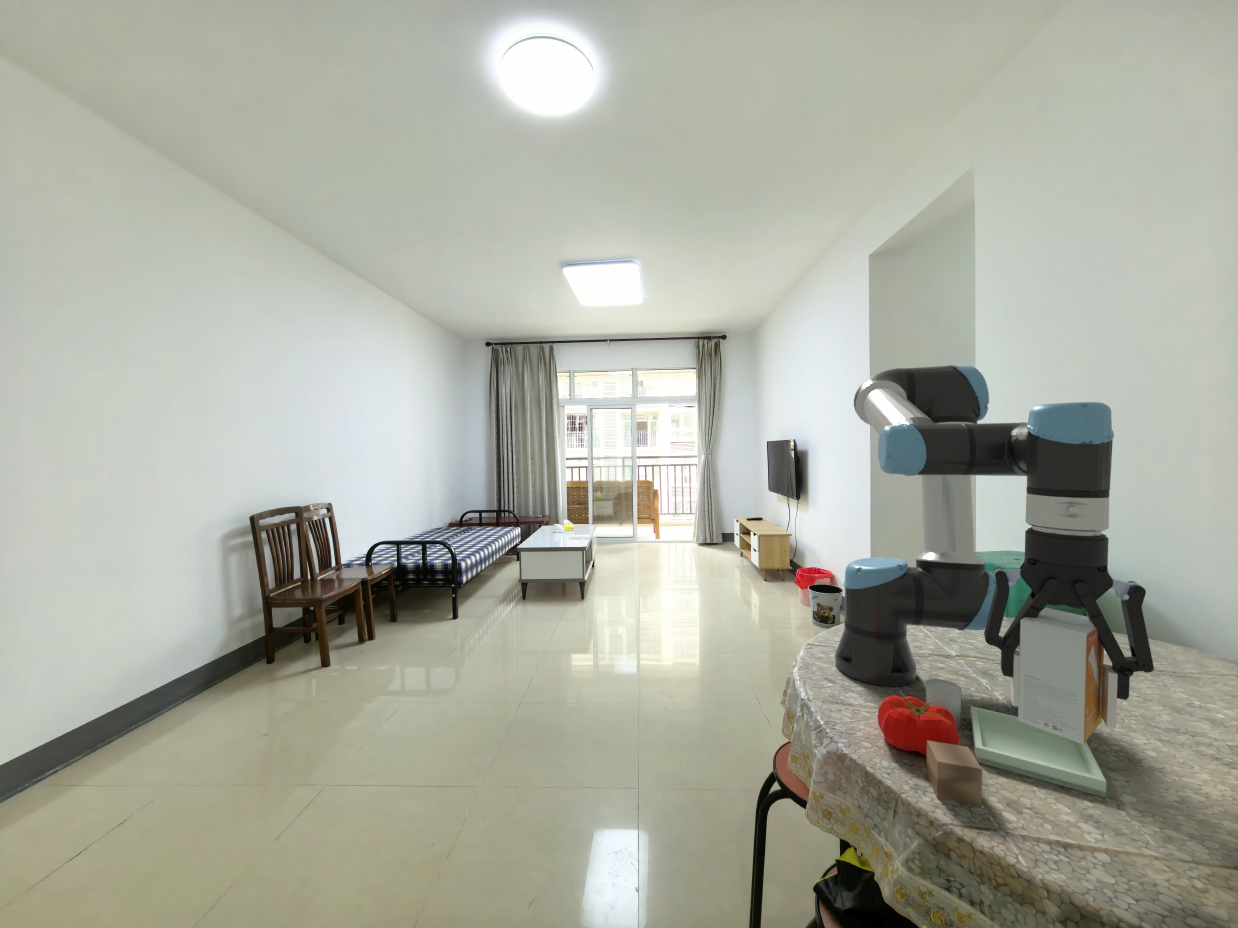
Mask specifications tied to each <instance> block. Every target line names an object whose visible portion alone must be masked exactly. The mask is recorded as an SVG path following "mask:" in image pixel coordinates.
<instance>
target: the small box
mask: <svg viewBox="0 0 1238 928" xmlns="http://www.w3.org/2000/svg"><path fill="white" fill-rule="evenodd" d="M1104 656H1105V649H1104V647H1103V645H1102V643H1101V640H1100V637H1099V635H1098V632H1097V628H1096V627H1094V625H1093V624H1092V623H1091V622H1090V620H1089V618H1088V616H1087V615H1081V614H1076V613H1072V612H1068V611H1062V610H1059V609H1053V608H1050V607H1049V608H1048V607H1045V608H1044V609H1043V610H1042V611H1041V612H1040V613H1039V615H1038V616H1037V618H1023V619H1021V620H1020V662H1019V705H1018V707H1017V708H1018V709H1017V710H1018V711H1017V712H1018V713H1017V715H1018V716H1017V717H1018V720H1019V721H1021V722H1023V723H1026V724H1028V725H1031V726H1034V727H1037V728H1039V729H1042V730H1045V731H1047V732H1050V733H1053V734H1056V735H1058V736H1061V737H1064V738H1067V739H1070V740H1072V741H1075V742H1078V743H1081V744H1085V743H1086V742H1087V740H1088V739H1089V737H1090V736H1091V735H1093V733H1094V731H1095V730H1097V728H1098V727H1099V726H1100V725H1101V724H1102V720H1103V719H1102V717H1101V689H1102V664H1104V659H1105V658H1104Z"/></svg>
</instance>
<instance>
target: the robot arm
mask: <svg viewBox="0 0 1238 928" xmlns="http://www.w3.org/2000/svg"><path fill="white" fill-rule="evenodd" d="M988 388H989V387H988V384H987V381H986V379H985V377H984V375H983V373H982V372H981V371H980V370H979V369H978V368H976V367H974V366H971V365H954V364H948V365H942V366H927V367H926V366H924V367H923V366H922V367H921V366H920V367H907V368H906V367H900V368H891V369H887V370H884V371H880V372H879V373H876V374H874V375H872V376H870V377H869V378H867V379H865V380H864V381H863V382H862V383H861V384H860V385H859V387H858V389H857V390H856V392H855V394H854V397H853V407H854V411H855V413H856V414H857V416H858V418H859V419H860V420H861V421H863V422H864V423H865V424H867V425H868V426H871V427H872V428H873V429H874V430H875V432H876V433H877V435H878V443H877V458H878V461H879V467H880V469H881V470H882V472H884V473H885V474H889V475H903V476H907V477H912V476H921V496H922V497H921V500H922V528H923V551H922V552H921V553H920V554H918V556H916V558H915V566H914V567H913V566H909V564H908V562H907V561H906V560H904V559H902V558H897V557H888V556H887V557H886V556H879V557H878V556H877V557H876V556H875V557H867V558H866V557H865V558H859V559H856V560H852V561H851V562H849V563H848V564H847V565H846V567H845V573H844V582H843V587H844V627H843V632H842V634H841V638H840V640H839V642H838V645H837V648H836V651H835V657H834V658H835V659H834V660H835V661H834V663H835V664H836V665H835V664H834V665H835V667H836V666H837V667H836V668H837V669H838V670H839V671H840V672H841V673H842V674H844V673H845V674H844V675H846V676H848V677H850V678H852V679H855V680H858V681H861V682H864V683H867V684H871V685H877V686H883V687H884V686H885V687H903V686H908V685H911V684H913V683H915V681H916V680H917V666H916V663H915V659H914V657H913V656H914V655H913V654H912V651H911V648H910V645H909V642H908V637H907V636H908V633H907V632H908V631H907V629H908V626H909V625H910V626H919V627H930V628H931V627H932V628H943V629H944V628H945V629H956V630H958V631H967V630H968V631H983V635H984V639H985V642H986V644H987V645H989V646H991V647H995V648H998V649H999V650H1000V670H1001V672H1002V675H1003V676H1004V677H1009V678H1010V700H1011V704H1012V705H1013V707H1017V708H1018V705H1019V662H1020V650H1019V649H1016V648H1017V647H1018V645H1019V644H1020V620H1021V619H1023V618H1037V616H1038V615H1039V613H1040V612H1041V611H1042V610H1043V609H1044V608H1046V606H1047V605H1049V606H1054V607H1055V606H1056V607H1057V606H1067V607H1069V608H1072V609H1079V610H1083V611H1084V613H1085V616H1087V617H1088V618H1089V620H1090V622H1091V623H1092V624H1093V625H1094V627H1096V628H1097V632H1098V635H1099V637H1100V640H1101V643H1102V645H1103V647H1104V652H1106V654H1107V656H1108V659H1109V660H1110V662H1111V664H1106V663H1103V664H1102V689H1101V717H1102V720H1103V723H1104V725H1105V726H1106V727H1107V728H1111V729H1115V730H1116V729H1117V707H1118V705H1117V704H1118V703H1117V702H1118V700H1117V699H1119V700H1124V701H1127V700H1128V699H1129V698H1130V683H1131V682H1130V681H1131V678H1130V677H1132V676H1133V675H1134V673H1135V672H1136V673H1138V672H1144V673H1147V674H1148V673H1152V672H1153V671H1154V670H1155V666H1154V661H1153V657H1152V651H1151V646H1150V642H1149V637H1148V633H1147V628H1146V623H1145V618H1144V611H1143V604H1144V600H1145V598H1146V594H1147V591H1146V589H1145V588H1144V586H1142V585H1140V584H1139V583H1137V582H1136V581H1133V580H1128V581H1125V580H1118V579H1115V578H1113V577H1112V576H1111V574H1110V573H1109V570H1108V566H1109V563H1108V562H1109V537H1107V535H1106V534H1104V533H1102V532H1105V531H1106V530H1109V529H1110V490H1111V474H1112V459H1113V458H1112V457H1113V454H1112V453H1113V439H1114V437H1115V433H1114V430H1113V428H1112V427H1113V426H1112V425H1113V424H1112V422H1113V421H1112V409H1111V408H1110V406H1109V405H1107V404H1105V403H1104V402H1097V401H1082V402H1081V401H1080V402H1079V401H1078V402H1074V401H1073V402H1056V403H1043V404H1036V405H1034V406H1033V407H1031V408H1030V410H1029V413H1028V418H1027V422H1024V421H1022V422H1000V423H999V422H996V423H993V422H992V423H978V422H979V421H981V420H983V419H984V418H986V416H987V413H988V412H989V411H988V410H989V403H990V394H989V389H988ZM972 476H987V477H988V476H992V477H993V476H994V477H995V476H996V477H997V476H1000V477H1001V476H1002V477H1003V476H1004V477H1005V476H1007V477H1008V476H1009V477H1014V476H1016V477H1026V497H1025V498H1026V500H1025V501H1026V503H1025V520H1024V521H1025V523H1026V524H1027V525H1029V526H1031V527H1029V528H1027V529H1026V530H1025V532H1024V534H1025V535H1024V558H1023V559H1024V560H1023V562H1022V564H1021V565H1020V567H1019V568H1013V569H1012V568H1011V569H1010V568H1009V569H1008V568H1007V569H1004V568H1003V567H999V566H998V567H995V568H994V569H993V572H991V571H989V570H986V569H985V567H986V565H985V561H984V560H982V559H981V557H979V556H978V555H977V554H976V553H975V536H974V519H973V518H974V517H973V514H974V513H973V498H972V496H973V494H972ZM1019 579H1022V580H1023V581H1024V582H1025V584H1026V585H1027V586H1028V587H1029V589H1030V590H1031V591H1030V593H1029V594H1028V596H1027V597H1026V600H1025V602H1024V603H1023V605H1022V606H1021V608H1020V610H1019V612H1017V614H1016V616H1015V618H1014V619H1013V620H1012V622H1011V624H1010V626H1009V627H1008V629H1007V630H1006V632H1005V634H1004V635H1003V636H1002V635H1000V633H1001V628H1002V624H1003V620H1004V617H1005V612H1006V608H1007V604H1008V601H1009V600H1008V599H1009V597H1010V588H1011V587H1012V588H1013V587H1015V586H1016V585H1017V581H1018V580H1019ZM1110 589H1112V590H1114V595H1115V596H1116V597H1117V598H1118V599H1119V600H1120V604H1121V605H1120V606H1121V610H1122V616H1123V620H1124V625H1125V631H1126V634H1127V640H1128V646H1129V650H1130V653H1131V654H1130V655H1131V656H1125V654H1124V653H1123V651H1122V649H1121V647H1120V645H1119V643H1118V641H1117V639H1116V638H1115V636H1114V634H1113V632H1112V630H1111V628H1110V626H1109V624H1108V622H1107V621H1106V618H1105V616H1104V614H1103V612H1102V610H1101V608H1100V606H1099V605H1098V602H1097V600H1099V599H1100V598H1101V597H1103V596H1104V594H1106V593H1107V592H1108V591H1109V590H1110Z"/></svg>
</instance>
